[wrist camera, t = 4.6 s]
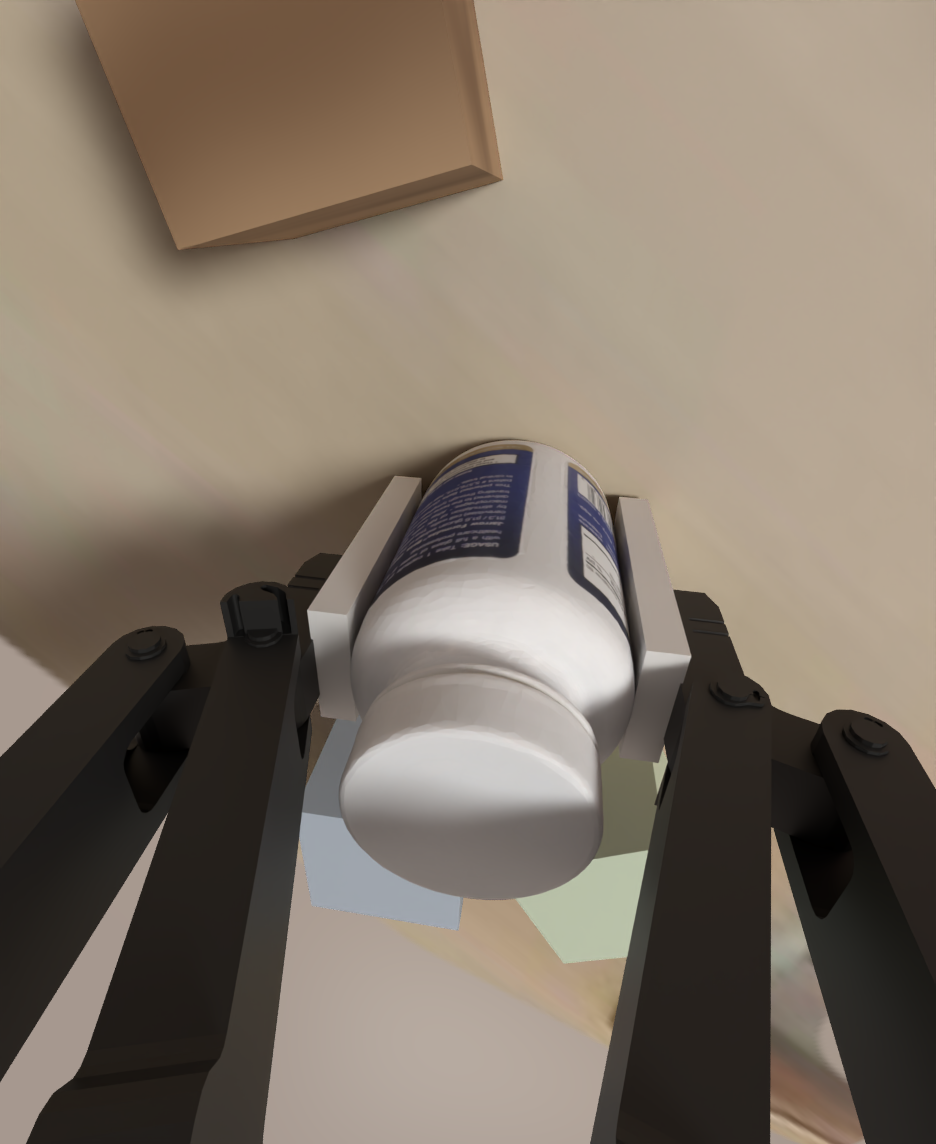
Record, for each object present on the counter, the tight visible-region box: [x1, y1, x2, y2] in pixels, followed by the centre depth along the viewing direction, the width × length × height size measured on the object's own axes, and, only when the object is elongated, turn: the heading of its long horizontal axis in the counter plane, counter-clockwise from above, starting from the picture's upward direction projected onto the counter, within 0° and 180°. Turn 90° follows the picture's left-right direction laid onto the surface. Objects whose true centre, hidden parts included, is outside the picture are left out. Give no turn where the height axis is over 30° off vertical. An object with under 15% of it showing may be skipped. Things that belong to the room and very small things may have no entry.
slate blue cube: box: [299, 715, 463, 930], centre depth 20 cm, size 5×5×5 cm
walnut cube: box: [75, 0, 503, 250], centre depth 10 cm, size 5×5×5 cm
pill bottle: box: [339, 440, 635, 900], centre depth 13 cm, size 5×5×10 cm
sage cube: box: [515, 746, 668, 963], centre depth 20 cm, size 5×5×5 cm
